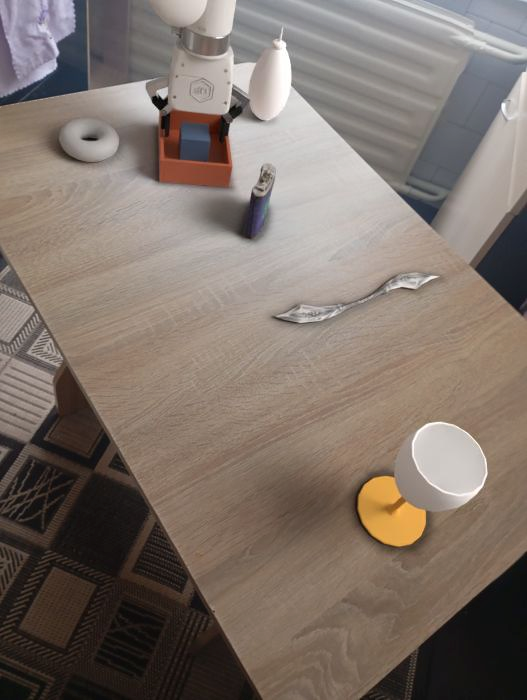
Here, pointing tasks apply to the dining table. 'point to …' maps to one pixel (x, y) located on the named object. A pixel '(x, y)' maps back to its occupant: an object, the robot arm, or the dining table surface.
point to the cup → (422, 483)
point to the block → (194, 141)
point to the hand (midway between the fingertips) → (194, 135)
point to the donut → (89, 149)
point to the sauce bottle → (270, 81)
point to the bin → (194, 171)
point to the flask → (259, 202)
